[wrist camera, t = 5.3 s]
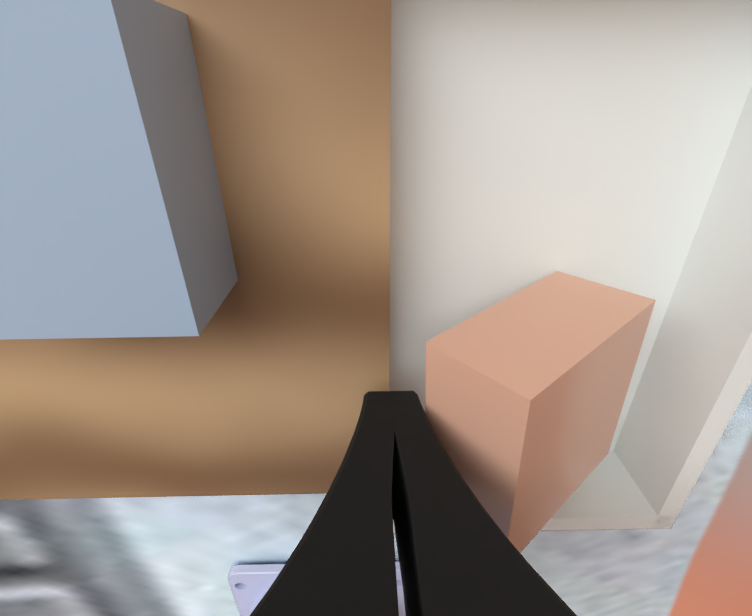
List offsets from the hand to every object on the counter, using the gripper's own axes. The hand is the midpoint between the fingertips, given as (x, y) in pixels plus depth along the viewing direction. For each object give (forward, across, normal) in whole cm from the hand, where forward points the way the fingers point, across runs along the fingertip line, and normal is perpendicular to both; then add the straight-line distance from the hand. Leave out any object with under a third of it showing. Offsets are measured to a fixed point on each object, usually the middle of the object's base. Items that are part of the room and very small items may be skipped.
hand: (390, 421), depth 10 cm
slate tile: (+1, +6, -6) cm, 9 cm away
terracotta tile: (+1, -3, 0) cm, 3 cm away
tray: (+3, -4, -3) cm, 6 cm away
